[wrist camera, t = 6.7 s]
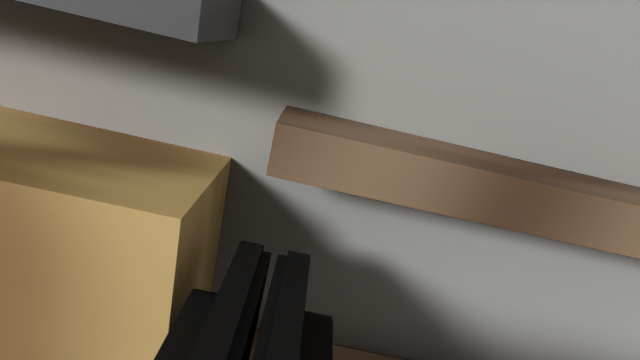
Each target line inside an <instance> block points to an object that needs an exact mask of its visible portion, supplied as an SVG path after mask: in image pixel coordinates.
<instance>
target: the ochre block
mask: <svg viewBox="0 0 640 360" xmlns="http://www.w3.org/2000/svg"><path fill="white" fill-rule="evenodd" d="M230 164H231V157H227V156H222V155H218V154H213V153H209V152H204V151H200V150H195V149H191V148H186V147H182V146H177V145H173V144H168V143H164V142H159V141H155V140H150V139H146V138H141V137H137V136H132V135H128V134H123V133H119V132H114V131H110V130H105V129H101V128H96V127H92V126H87V125H83V124H78V123H74V122H69V121H65V120H60V119H56V118H51V117H47V116H42V115H38V114H33V113H29V112H24V111H20V110H15V109H11V108H6V107H2V106H0V360H154V358H155V356H156V354H157V353H158V351H159V349H160V347H161V345H162V343H163V342H164V340H165V338H166V336H167V334H168V332H169V331H170V329H171V327H172V325H173V323H174V321H175V320H176V318H177V316H178V314H179V312H180V310H181V309H182V307H183V305H184V303H185V301H186V299H187V298H188V296H189V294H190V293H191V291H192V290H193V289H199V290H204V291H209V292H211V289H212V283H213V276H214V270H215V263H216V256H217V250H218V243H219V237H220V230H221V223H222V217H223V210H224V204H225V197H226V190H227V184H228V177H229V171H230Z"/></svg>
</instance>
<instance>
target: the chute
mask: <svg viewBox="0 0 640 360" xmlns="http://www.w3.org/2000/svg"><path fill="white" fill-rule="evenodd" d="M266 175H267V176H272V177H276V178H281V179H285V180H290V181H294V182H299V183H303V184H308V185H312V186H317V187H321V188H325V189H330V190H334V191H339V192H343V193H348V194H352V195H357V196H361V197H366V198H370V199H375V200H379V201H384V202H388V203H393V204H397V205H402V206H406V207H410V208H415V209H419V210H424V211H428V212H433V213H437V214H442V215H446V216H451V217H455V218H460V219H464V220H469V221H473V222H478V223H482V224H487V225H491V226H495V227H500V228H504V229H509V230H513V231H518V232H522V233H527V234H531V235H536V236H540V237H545V238H549V239H554V240H558V241H563V242H567V243H572V244H576V245H580V246H585V247H589V248H594V249H598V250H603V251H607V252H612V253H616V254H621V255H625V256H630V257H634V258H639V259H640V187H636V186H631V185H627V184H623V183H618V182H614V181H610V180H606V179H601V178H597V177H593V176H588V175H584V174H580V173H575V172H571V171H567V170H562V169H558V168H554V167H550V166H545V165H541V164H537V163H532V162H528V161H524V160H519V159H515V158H511V157H507V156H502V155H498V154H494V153H489V152H485V151H481V150H476V149H472V148H468V147H463V146H459V145H455V144H451V143H446V142H442V141H438V140H433V139H429V138H425V137H420V136H416V135H412V134H407V133H403V132H399V131H395V130H390V129H386V128H382V127H377V126H373V125H369V124H364V123H360V122H356V121H351V120H347V119H343V118H339V117H334V116H330V115H326V114H321V113H317V112H313V111H308V110H304V109H300V108H296V107H291V106H286V108H285V110H284V111H283V113H282V114H281V116H280V118H279V119H278V121H277V122H276V127H275V132H274V137H273V143H272V148H271V153H270V158H269V164H268V169H267V174H266ZM258 334H259V329H256V331H255V335H254V340H253V345H252V349H251V353H250V357H249V360H252V358H253V354H254V350H255V346H256V342H257V338H258ZM333 360H405V359H400V358H395V357H390V356H385V355H381V354H376V353H371V352H366V351H361V350H356V349H351V348H347V347H342V346H337V345H333Z"/></svg>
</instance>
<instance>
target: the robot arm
mask: <svg viewBox="0 0 640 360" xmlns="http://www.w3.org/2000/svg"><path fill="white" fill-rule="evenodd" d="M263 249H264V245H261V244H256V243H251V242H246V241H241V242H240V244H239V247H238V249H237V251H236V254H235V256H234V258H233V260H232V263H231V265H230V267H229V270H228V272H227V274H226V276H225V279H224V281H223V283H222V285H221V288H220V290H219V292H218V293H214V292H209V291H204V290H199V289H193V290H192V291H191V293H190V294H189V296H188V298H187V299H186V301H185V303H184V305H183V307H182V309H181V310H180V312H179V314H178V316H177V318H176V320H175V321H174V323H173V325H172V327H171V329H170V331H169V332H168V334H167V336H166V338H165V340H164V342H163V343H162V345H161V347H160V349H159V351H158V353H157V354H156V356H155V358H154V360H249V357H250V353H251V349H252V345H253V340H254V335H255V331H256V326H257V321H258V316H259V311H260V306H261V301H262V297H263V292H264V287H265V282H266V277H267V272H268V267H269V262H270V258H271V253H269V252H264V251H263ZM309 264H310V255H308V254H304V253H299V252H294V251H289V250H288V254H287V256H284V255H279V254H278V257H277V262H276V266H275V270H274V274H273V278H272V282H271V286H270V290H269V294H268V298H267V302H266V306H265V310H264V314H263V318H262V322H261V326H260V330H259V334H258V338H257V342H256V346H255V350H254V354H253V358H252V360H333V320H332V316H327V315H322V314H317V313H312V312H307V311H305V302H306V292H307V283H308V273H309Z"/></svg>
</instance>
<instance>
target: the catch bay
mask: <svg viewBox="0 0 640 360" xmlns="http://www.w3.org/2000/svg"><path fill="white" fill-rule="evenodd" d="M16 1H20V2H25V3H29V4H33V5H37V6H42V7H46V8H50V9H54V10H58V11H63V12H67V13H71V14H75V15H80V16H84V17H88V18H92V19H96V20H101V21H105V22H109V23H113V24H118V25H122V26H126V27H130V28H134V29H139V30H143V31H147V32H151V33H156V34H160V35H164V36H168V37H172V38H177V39H181V40H185V41H189V42H194V43H204V42H214V41H223V40H233V39H237V33H238V26H239V19H240V12H241V5H242V0H16Z"/></svg>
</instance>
